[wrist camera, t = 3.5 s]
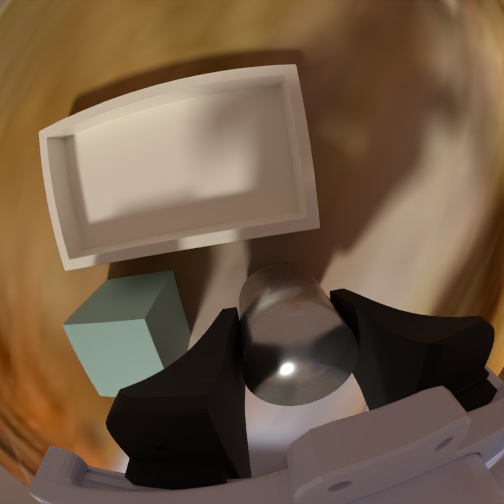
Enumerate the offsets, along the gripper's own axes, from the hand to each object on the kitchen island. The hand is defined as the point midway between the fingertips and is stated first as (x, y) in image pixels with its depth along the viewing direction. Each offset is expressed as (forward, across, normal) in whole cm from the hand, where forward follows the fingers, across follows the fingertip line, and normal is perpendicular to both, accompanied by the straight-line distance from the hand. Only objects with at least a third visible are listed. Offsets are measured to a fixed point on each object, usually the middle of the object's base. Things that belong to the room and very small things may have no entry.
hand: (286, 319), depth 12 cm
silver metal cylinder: (+2, 0, 0) cm, 2 cm away
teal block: (+3, +7, 0) cm, 8 cm away
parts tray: (+3, +4, -7) cm, 9 cm away
